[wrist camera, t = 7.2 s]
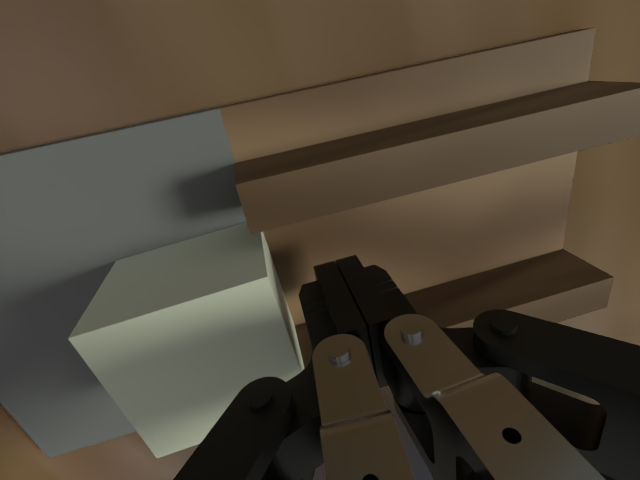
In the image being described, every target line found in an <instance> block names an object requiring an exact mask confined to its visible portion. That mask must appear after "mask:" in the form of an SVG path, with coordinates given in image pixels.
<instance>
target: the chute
mask: <svg viewBox="0 0 640 480" xmlns="http://www.w3.org/2000/svg"><path fill="white" fill-rule="evenodd" d="M595 32H596V28H588V29H580V30H576V31H571V32H566V33H562V34H557V35H552V36H548V37H543V38H538V39H534V40H529V41H524V42H520V43H515V44H510V45H506V46H501V47H496V48H492V49H487V50H482V51H478V52H473V53H468V54H464V55H459V56H454V57H450V58H445V59H441V60H436V61H431V62H427V63H422V64H417V65H413V66H408V67H403V68H399V69H394V70H389V71H385V72H380V73H375V74H371V75H366V76H361V77H357V78H352V79H347V80H343V81H338V82H333V83H329V84H324V85H319V86H315V87H310V88H305V89H301V90H296V91H291V92H287V93H282V94H278V95H273V96H268V97H264V98H259V99H254V100H250V101H245V102H240V103H236V104H231V105H226V106H222V107H220V108H219V109H220V112H221V116H222V119H223V123H224V126H225V129H226V133H227V136H228V140H229V143H230V146H231V150H232V153H233V156H234V160H235V185H236V189H237V192H238V195H239V198H240V202H241V205H242V208H243V212H244V215H245V218H246V222H247V225H248V228H249V231H250V235H251V234H255V233H259V232H263V233H264V236H265V239H266V242H267V245H268V248H269V251H270V254H271V257H272V260H273V263H274V266H275V269H276V272H277V275H278V278H279V281H280V284H281V287H282V290H283V293H284V295H285V298H286V301H287V304H288V307H289V310H290V313H291V316H292V319H293V322H294V325H295V329H296V334H297V338H298V342H299V347H300V351H301V355H302V360H303V364H304V368H306V366H307V365H308V363H309V362H310V360H311V357H312V351H313V350H312V345H311V341H310V337H309V333H308V330H307V326H306V322H305V318H304V314H303V310H302V306H301V303H300V299H299V292H300V289H301V287H302V284H306V283H310V282H313V281H316V277H315V273H314V268H313V266H316V265H320V264H323V263H327V262H331V261H334V262H335V260H338V259H341V258H345V257H349V256H352V255H356V256H357V257H358V259H359V260H360V262H361V264H362V265H363V267H367V266H370V265H374V264H375V265H377V266H379V267H380V268H382V269H384V270H386V271H387V273H388V274H389V275H390V277H391V278H392V280H393V281H394V282H395V284H396V285H397V286H398V288H399V289H400V290H401V292H402V293H403V295H404V296H405V297H406V299H407V300H408V301H409V303H410V304H411V306H412V307H413V308H414V310H415V311H416V312H417V314H418V315H422V316H425V317H428V318H430V319H431V320H433V321H434V322H435V323H436V324H437V325H438V326H439V327H442V328H467V327H473V322H474V319H475V318H476V317H477V316H478V315H479V314H481V313H483V312H485V311H488V310H495V309H502V310H509V311H513V312H517V313H521V314H524V315H528V316H532V317H535V318H539V319H543V320H547V321H550V322H554V323H557V322H560V321H563V320H567V319H570V318H573V317H576V316H580V315H583V314H586V313H589V312H592V311H596V310H599V309H602V308H605V307H607V304H608V300H609V295H610V291H611V287H612V283H613V279H614V277H613V276H611V275H609V274H607V273H606V272H604V271H602V270H600V269H598V268H597V267H595V266H593V265H591V264H589V263H587V262H586V261H584V260H582V259H580V258H578V257H577V256H575V255H573V254H571V253H569V252H567V251H566V250H564V249H563V243H564V237H565V230H566V223H567V217H568V210H569V204H570V197H571V190H572V184H573V177H574V171H575V164H576V157H577V151H581V150H585V149H588V148H592V147H596V146H600V145H604V144H608V143H612V142H616V141H620V140H624V139H628V138H632V137H635V136H639V135H640V83H635V82H605V81H588V78H589V72H590V65H591V59H592V52H593V45H594V39H595Z"/></svg>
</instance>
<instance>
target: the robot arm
mask: <svg viewBox="0 0 640 480" xmlns="http://www.w3.org/2000/svg"><path fill="white" fill-rule="evenodd" d="M313 268H314V273H315V277H316V281H313V282H310V283H306V284H302V287H301V289H300V292H299V299H300V303H301V306H302V310H303V314H304V318H305V322H306V326H307V330H308V333H309V337H310V341H311V345H312V350H313V351H312V357H311V360H310V362H309V363H308V365H307V366H306V368H305V369H304V370H303V371H302V372H300V373H299V374H298V375H296V376H295V377H293V378H291V379H290V380H288V381H287V382H285V381H284V380H282V379H280V378H278V377H262V378H259V379H256V380H254V381H252V382H250V383H249V384H247V385H246V386H245V387H244V388H242V389H241V391H240V392H239V393H238V394H237V396H236V397H235V398H234V400H233V401H232V402H231V404H230V405H229V406H228V407H227V409H226V410H225V411H224V413H223V414H222V415H221V417H220V418H219V419H218V421H217V422H216V423H215V425H214V426H213V427H212V429H211V430H210V431H209V433H208V434H207V435H206V437H205V438H204V439H203V441H202V442H201V443H200V445H199V446H198V447H197V449H196V450H195V451H194V453H193V454H192V455H191V457H190V458H189V459H188V461H187V462H186V463H185V465H184V466H183V467H182V469H181V470H180V471H179V473H178V474H177V475H176V477H175V478H174V479H173V480H312V479H313V477H314V472H315V469H316V468H317V467H319V466H320V465H321V464H323V463H324V467H325V474H326V480H415V478H414V475H413V472H412V469H411V466H410V463H409V461H408V458H407V455H406V452H405V449H404V446H403V443H402V441H401V438H400V435H399V432H398V429H397V426H396V423H395V421H394V418H393V415H392V413H391V411H390V410H387V408H386V405H385V402H384V399H383V396H382V393H381V390H380V388H381V387H384V386H388V385H389V387H390V390H391V392H392V394H393V399H394V405H395V409H396V411H397V413H398V415H399V417H400V419H401V420H402V422H403V424H404V426H405V428H406V429H407V431H408V433H409V435H410V437H411V438H412V440H413V442H414V444H415V446H416V447H417V449H418V451H419V453H420V454H421V456H422V458H423V460H424V462H425V463H426V465H427V467H428V469H429V471H430V473H431V475H432V477H433V479H434V480H640V346H638V345H635V344H631V343H627V342H624V341H620V340H616V339H613V338H609V337H605V336H602V335H598V334H594V333H591V332H587V331H583V330H580V329H576V328H572V327H569V326H565V325H561V324H558V323H554V322H550V321H547V320H543V319H539V318H535V317H532V316H528V315H524V314H521V313H517V312H513V311H509V310H502V309H495V310H488V311H485V312H483V313H481V314H479V315H478V316H477V317H476V318H475V319H474V322H473V327H467V328H442V327H439V326H438V325H437V324H436V323H435V322H434V321H433V320H431V319H430V318H428V317H425V316H422V315H418V314H417V312H416V311H415V310H414V308H413V307H412V306H411V304H410V303H409V301H408V300H407V299H406V297H405V296H404V295H403V293H402V292H401V290H400V289H399V288H398V286H397V285H396V284H395V282H394V281H393V280H392V278H391V277H390V275H389V274H388V273H387V271H386V270H384V269H382V268H380V267H379V266H377V265H375V264H374V265H370V266H367V267H363V265H362V264H361V262H360V260H359V259H358V257H357V256H356V255H352V256H349V257H345V258H341V259H338V260H335V262H334V261H331V262H327V263H323V264H320V265H316V266H313ZM532 376H533V377H536V378H538V379H541V380H544V381H547V382H549V383H552V384H555V385H557V386H560V387H563V388H566V389H568V390H571V391H574V392H577V393H579V394H582V395H585V396H587V397H590V398H592V399H594V400H596V401H597V402H599V403H600V404H601V405H594V404H590V403H587V402H584V401H581V400H579V399H576V398H573V397H571V396H568V395H565V394H563V393H560V392H557V391H555V390H552V389H549V388H547V387H544V386H541V385H539V384H536V383H533V382H532Z"/></svg>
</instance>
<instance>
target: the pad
mask: <svg viewBox="0 0 640 480" xmlns="http://www.w3.org/2000/svg"><path fill="white" fill-rule="evenodd" d="M219 108H220V107H217V108H212V109H208V110H203V111H198V112H194V113H189V114H184V115H180V116H175V117H170V118H166V119H161V120H156V121H152V122H147V123H142V124H138V125H133V126H128V127H124V128H119V129H115V130H110V131H105V132H101V133H96V134H91V135H87V136H82V137H77V138H73V139H68V140H63V141H59V142H54V143H49V144H45V145H40V146H35V147H31V148H26V149H21V150H17V151H12V152H7V153H3V154H0V403H1V404H2V406H3V407H4V408H5V409H6V410H7V411H8V412H9V414H10V415H11V416H12V417H13V418H14V419H15V420H16V421H17V423H18V424H19V425H20V426H21V427H22V428H23V429H24V431H25V432H26V433H27V434H28V435H29V436H30V437H31V438H32V440H33V441H34V442H35V443H36V444H37V445H38V446H39V448H40V449H41V450H42V451H43V452H44V453H45V454H46V456H47V457H48V458H51V457H54V456H57V455H61V454H64V453H67V452H70V451H74V450H77V449H80V448H84V447H87V446H90V445H93V444H97V443H100V442H103V441H107V440H110V439H113V438H116V437H120V436H123V435H126V434H130V433H133V432H136V430H135V428H134V427H133V426H132V424H131V423H130V422H129V420H128V419H127V418H126V416H125V415H124V414H123V412H122V411H121V409H120V408H119V407H118V405H117V404H116V403H115V401H114V400H113V399H112V397H111V396H110V395H109V393H108V392H107V391H106V389H105V388H104V387H103V385H102V384H101V383H100V381H99V380H98V378H97V377H96V376H95V374H94V373H93V372H92V370H91V369H90V368H89V366H88V365H87V364H86V362H85V361H84V360H83V358H82V357H81V356H80V354H79V353H78V352H77V350H76V349H75V348H74V346H73V345H72V343H71V342H70V341H69V339H68V338H69V336H70V334H71V333H72V331H73V330H74V328H75V326H76V325H77V323H78V321H79V320H80V318H81V317H82V315H83V313H84V312H85V310H86V309H87V307H88V305H89V304H90V302H91V301H92V299H93V297H94V296H95V294H96V292H97V291H98V289H99V288H100V286H101V284H102V283H103V281H104V280H105V278H106V276H107V275H108V273H109V272H110V270H111V268H112V267H113V265H114V263H115V262H116V261H117V260H120V259H123V258H127V257H130V256H134V255H137V254H140V253H144V252H147V251H151V250H154V249H157V248H161V247H164V246H168V245H171V244H174V243H178V242H181V241H184V240H188V239H191V238H195V237H198V236H201V235H205V234H208V233H212V232H215V231H218V230H222V229H225V228H228V227H232V226H235V225H239V224H242V223H245V222H246V218H245V215H244V212H243V208H242V205H241V202H240V198H239V195H238V192H237V189H236V185H235V160H234V156H233V153H232V150H231V146H230V143H229V140H228V136H227V133H226V129H225V126H224V123H223V119H222V116H221V112H220V109H219Z"/></svg>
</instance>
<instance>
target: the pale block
mask: <svg viewBox="0 0 640 480" xmlns="http://www.w3.org/2000/svg"><path fill="white" fill-rule="evenodd" d="M68 339H69V341H70V342H71V343H72V345H73V346H74V348H75V349H76V350H77V352H78V353H79V354H80V356H81V357H82V358H83V360H84V361H85V362H86V364H87V365H88V366H89V368H90V369H91V370H92V372H93V373H94V374H95V376H96V377H97V378H98V380H99V381H100V383H101V384H102V385H103V387H104V388H105V389H106V391H107V392H108V393H109V395H110V396H111V397H112V399H113V400H114V401H115V403H116V404H117V405H118V407H119V408H120V409H121V411H122V412H123V414H124V415H125V416H126V418H127V419H128V420H129V422H130V423H131V424H132V426H133V427H134V428H135V430H136V431H137V432H138V434H139V435H140V436H141V438H142V439H143V440H144V442H145V443H146V444H147V446H148V447H149V449H150V450H151V451H152V453H153V454H154V455H155V457H156V458H159V457H162V456H165V455H168V454H171V453H174V452H177V451H180V450H183V449H185V448H188V447H191V446H194V445H197V444H200V443H201V442H202V441H203V439H204V438H205V437H206V435H207V434H208V433H209V431H210V430H211V429H212V427H213V426H214V425H215V423H216V422H217V421H218V419H219V418H220V417H221V415H222V414H223V413H224V411H225V410H226V409H227V407H228V406H229V405H230V404H231V402H232V401H233V400H234V398H235V397H236V396H237V394H238V393H239V392H240V391H241V389H242V388H244V387H245V386H246V385H247V384H249V383H250V382H252V381H254V380H256V379H259V378H262V377H278V378H280V379H282V380H284V381H285V382H287V381H288V380H290V379H291V378H293V377H295V376H296V375H298V374H299V373H300V372H302V371H303V370H304V369H305V368H304V364H303V360H302V355H301V351H300V347H299V342H298V338H297V334H296V329H295V325H294V322H293V319H292V316H291V313H290V310H289V307H288V304H287V301H286V298H285V295H284V293H283V290H282V287H281V284H280V281H279V278H278V275H277V272H276V269H275V266H274V263H273V260H272V257H271V254H270V251H269V248H268V245H267V242H266V239H265V236H264V233H263V232H259V233H255V234H251V235H250V231H249V228H248V225H247V222H245V223H242V224H239V225H235V226H232V227H228V228H225V229H222V230H218V231H215V232H212V233H208V234H205V235H201V236H198V237H195V238H191V239H188V240H184V241H181V242H178V243H174V244H171V245H168V246H164V247H161V248H157V249H154V250H151V251H147V252H144V253H140V254H137V255H134V256H130V257H127V258H123V259H120V260H117V261H116V262H115V263H114V265H113V267H112V268H111V270H110V272H109V273H108V275H107V276H106V278H105V280H104V281H103V283H102V284H101V286H100V288H99V289H98V291H97V292H96V294H95V296H94V297H93V299H92V301H91V302H90V304H89V305H88V307H87V309H86V310H85V312H84V313H83V315H82V317H81V318H80V320H79V321H78V323H77V325H76V326H75V328H74V330H73V331H72V333H71V334H70V336H69V338H68Z"/></svg>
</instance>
